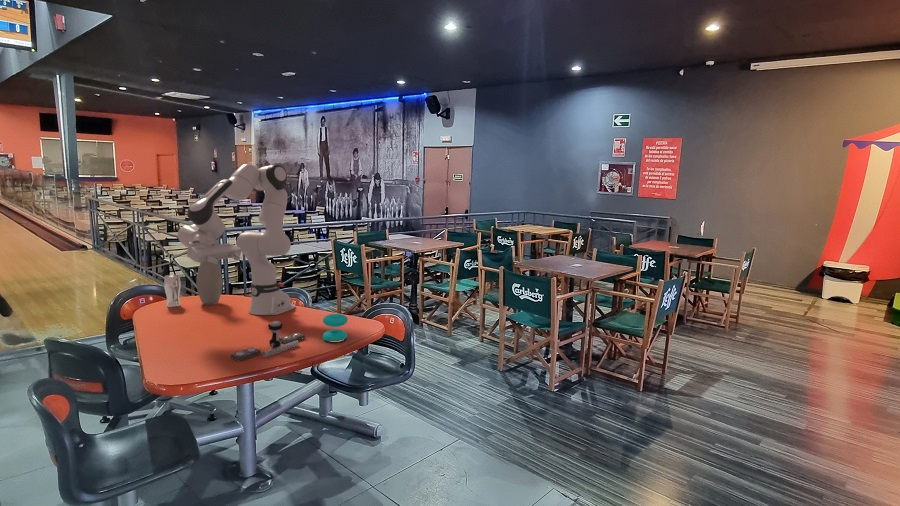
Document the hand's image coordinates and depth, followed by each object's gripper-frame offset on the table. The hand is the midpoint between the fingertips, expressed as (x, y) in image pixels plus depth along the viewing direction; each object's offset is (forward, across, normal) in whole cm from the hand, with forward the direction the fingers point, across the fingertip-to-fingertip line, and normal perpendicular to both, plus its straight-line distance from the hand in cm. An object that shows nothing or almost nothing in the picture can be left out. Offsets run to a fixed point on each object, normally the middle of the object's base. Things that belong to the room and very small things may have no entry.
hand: (228, 260), depth 196 cm
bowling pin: (-37, -24, -44) cm, 63 cm away
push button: (+34, 0, -23) cm, 41 cm away
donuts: (+46, -20, -19) cm, 54 cm away
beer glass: (-47, -12, -47) cm, 67 cm away
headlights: (+36, +2, -22) cm, 42 cm away
